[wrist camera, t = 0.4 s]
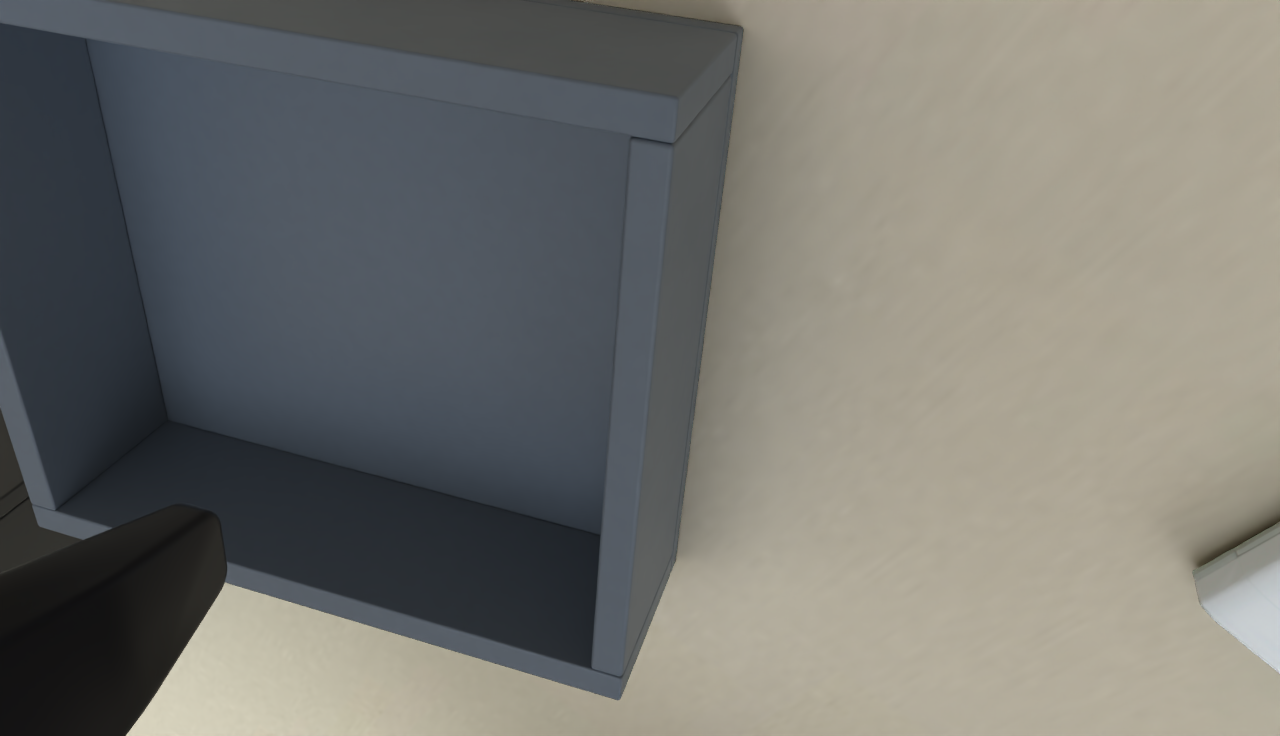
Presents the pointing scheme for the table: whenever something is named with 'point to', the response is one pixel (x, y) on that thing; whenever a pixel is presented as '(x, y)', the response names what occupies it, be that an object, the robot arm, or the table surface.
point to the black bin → (20, 514)
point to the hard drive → (1246, 593)
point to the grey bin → (372, 298)
